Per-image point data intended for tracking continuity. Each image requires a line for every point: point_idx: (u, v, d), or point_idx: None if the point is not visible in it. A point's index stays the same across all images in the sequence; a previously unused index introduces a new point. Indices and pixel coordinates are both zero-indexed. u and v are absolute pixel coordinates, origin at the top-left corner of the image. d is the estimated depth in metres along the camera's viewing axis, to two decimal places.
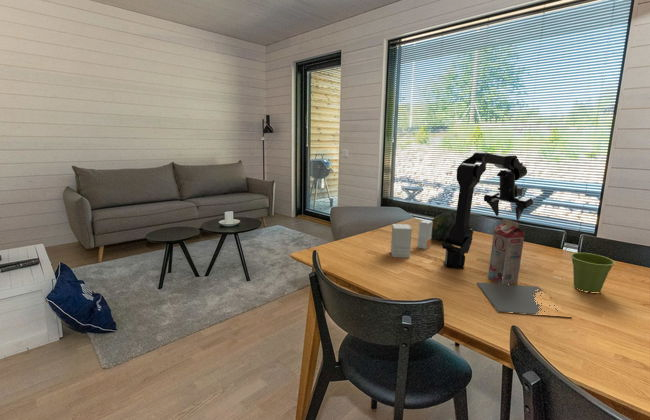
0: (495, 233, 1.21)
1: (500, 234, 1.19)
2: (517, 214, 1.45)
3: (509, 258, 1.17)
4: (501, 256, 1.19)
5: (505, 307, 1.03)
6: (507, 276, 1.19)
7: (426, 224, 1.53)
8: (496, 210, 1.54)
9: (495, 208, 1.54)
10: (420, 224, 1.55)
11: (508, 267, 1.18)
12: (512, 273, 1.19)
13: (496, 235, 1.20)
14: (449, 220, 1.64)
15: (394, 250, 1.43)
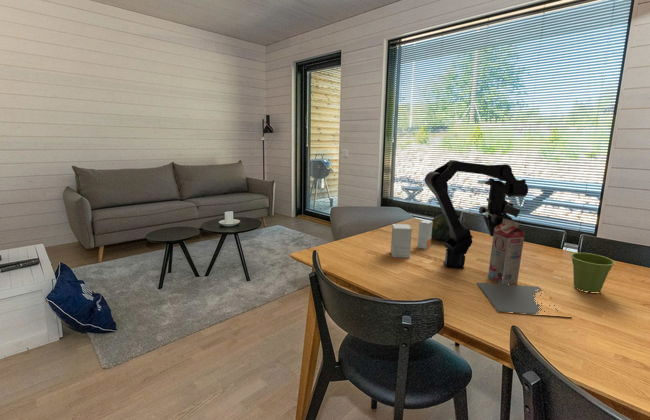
0: (495, 233, 1.21)
1: (500, 234, 1.19)
2: (489, 228, 1.34)
3: (509, 258, 1.17)
4: (501, 256, 1.19)
5: (505, 307, 1.03)
6: (507, 276, 1.19)
7: (426, 224, 1.53)
8: None
9: None
10: (420, 224, 1.55)
11: (508, 267, 1.18)
12: (512, 273, 1.19)
13: (496, 235, 1.20)
14: None
15: (394, 250, 1.43)
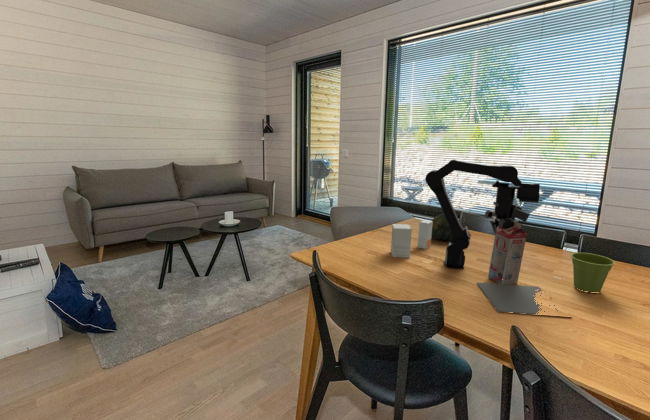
0: (497, 233, 1.20)
1: (502, 234, 1.18)
2: None
3: (510, 259, 1.17)
4: (502, 256, 1.18)
5: (505, 307, 1.03)
6: (507, 276, 1.19)
7: (426, 224, 1.53)
8: None
9: None
10: (420, 224, 1.55)
11: (509, 267, 1.18)
12: (513, 273, 1.19)
13: (498, 235, 1.20)
14: None
15: (394, 250, 1.43)
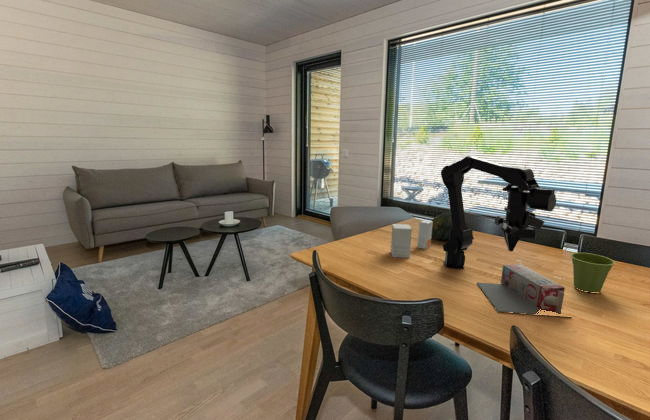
0: (539, 288, 1.02)
1: (539, 295, 1.02)
2: (507, 241, 1.16)
3: None
4: (521, 290, 1.10)
5: (505, 307, 1.03)
6: None
7: (426, 224, 1.53)
8: None
9: None
10: (420, 224, 1.55)
11: None
12: None
13: (538, 290, 1.03)
14: (449, 220, 1.64)
15: (394, 250, 1.43)
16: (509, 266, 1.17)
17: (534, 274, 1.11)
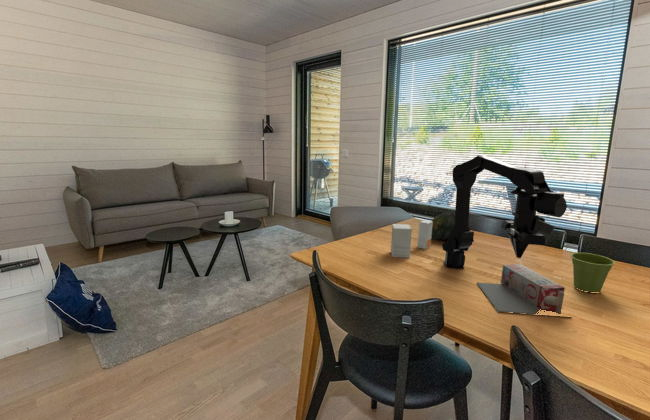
0: (539, 288, 1.02)
1: (539, 295, 1.02)
2: (515, 248, 1.10)
3: None
4: (521, 290, 1.10)
5: (505, 307, 1.03)
6: None
7: (426, 224, 1.53)
8: None
9: None
10: (420, 224, 1.55)
11: None
12: None
13: (538, 290, 1.03)
14: (449, 220, 1.64)
15: (394, 250, 1.43)
16: (509, 266, 1.17)
17: (534, 274, 1.11)
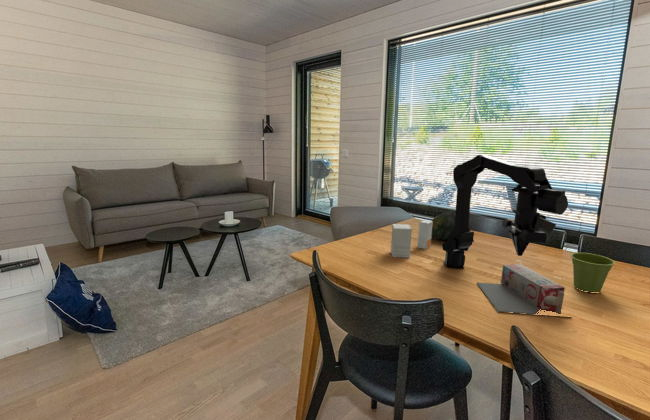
0: (539, 288, 1.02)
1: (539, 295, 1.02)
2: (516, 245, 1.09)
3: None
4: (521, 290, 1.10)
5: (505, 307, 1.03)
6: None
7: (426, 224, 1.53)
8: None
9: None
10: (420, 224, 1.55)
11: None
12: None
13: (538, 290, 1.03)
14: (449, 220, 1.64)
15: (394, 250, 1.43)
16: (509, 266, 1.17)
17: (534, 274, 1.11)
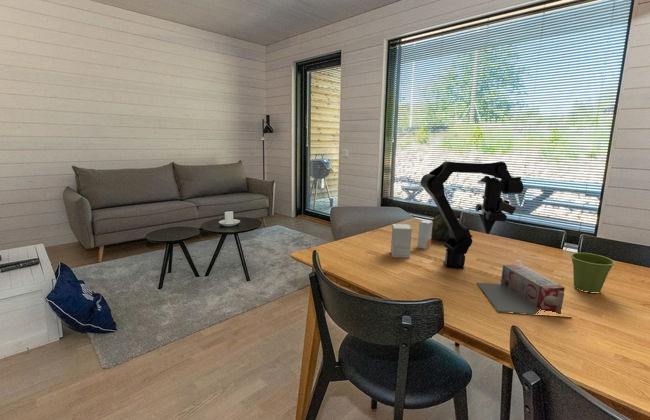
0: (539, 288, 1.02)
1: (539, 295, 1.02)
2: (484, 225, 1.33)
3: None
4: (521, 290, 1.10)
5: (505, 307, 1.03)
6: None
7: (426, 224, 1.53)
8: None
9: None
10: (420, 224, 1.55)
11: None
12: None
13: (538, 290, 1.03)
14: None
15: (394, 250, 1.43)
16: (509, 266, 1.17)
17: (534, 274, 1.11)
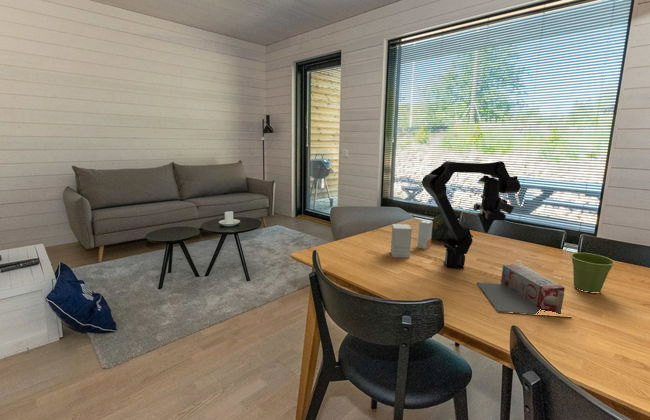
0: (539, 288, 1.02)
1: (539, 295, 1.02)
2: (483, 224, 1.35)
3: None
4: (521, 290, 1.10)
5: (505, 307, 1.03)
6: None
7: (426, 224, 1.53)
8: None
9: None
10: (420, 224, 1.55)
11: None
12: None
13: (538, 290, 1.03)
14: None
15: (394, 250, 1.43)
16: (509, 266, 1.17)
17: (534, 274, 1.11)
